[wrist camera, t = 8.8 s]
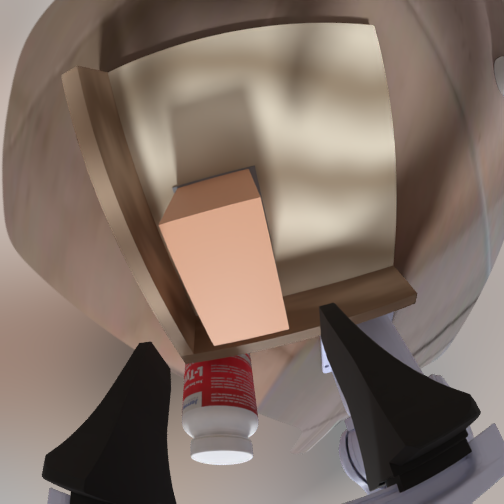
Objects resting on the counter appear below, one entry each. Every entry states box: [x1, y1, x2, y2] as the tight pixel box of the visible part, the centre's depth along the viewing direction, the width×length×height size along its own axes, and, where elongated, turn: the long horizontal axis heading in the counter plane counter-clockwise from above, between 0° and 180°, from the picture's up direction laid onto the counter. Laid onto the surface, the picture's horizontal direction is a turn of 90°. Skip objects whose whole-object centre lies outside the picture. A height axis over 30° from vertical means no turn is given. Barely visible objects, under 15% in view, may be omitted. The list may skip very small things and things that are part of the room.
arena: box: [61, 23, 417, 364], centre depth 15 cm, size 20×18×5 cm
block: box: [159, 169, 289, 346], centre depth 16 cm, size 8×4×6 cm, turn 13°
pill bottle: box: [182, 353, 258, 465], centre depth 20 cm, size 6×6×11 cm
